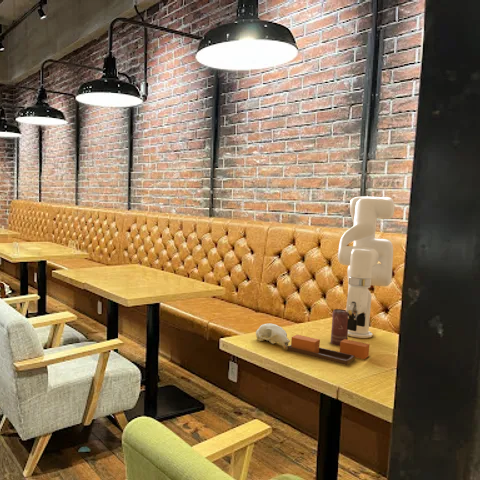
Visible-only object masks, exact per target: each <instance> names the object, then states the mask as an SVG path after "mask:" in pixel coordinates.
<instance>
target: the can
mask: <svg viewBox="0 0 480 480" xmlns="http://www.w3.org/2000/svg"><path fill="white" fill-rule="evenodd" d="M331 317H332V319H331V329H330V330H331V333H330V344H331V345H334V346H337V347H338V346H339V347H340V342H341V341H342V340H344V339H348V337H349V336H348V330H347V323H348V312H346V309H341V308H335V309H333V311H332V316H331Z"/></svg>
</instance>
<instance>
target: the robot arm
mask: <svg viewBox="0 0 480 480" xmlns="http://www.w3.org/2000/svg"><path fill="white" fill-rule="evenodd" d="M349 213H350V218H351V220H352V225H353V226H351V227H349V229H347V230H346V231H344V233H343V234H342V236H341V237H340V240H339V242H338V243H339V244H338V250H337V261H338V263H339V264H341V266H347V269H346V272H347V298H346V306H345V310H346V312H348V323H347V330H348V336H347V337H352V338H358V339H368V338H369V339H370V338H372V337H373V332H372V331H370V320H371V308H372V292H371V291H370V289H371V286H374V287H375V286H376V287H388V286H390V285H391V283H392V278H393V265H394V264H393V263H394V245H393V243H392V241H391V240H390V239H387V238H376V230H377V220H380V219H381V220H390V219H392V218H393V216H394V214H395V202H394V199H393V198H392V197H387V196H386V197H385V196H364V195H363V196H355V197H353V198H351V199H350V201H349ZM350 243H352V245H349V244H350ZM378 262H379V263H378Z"/></svg>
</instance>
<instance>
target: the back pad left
mask: <svg viewBox="0 0 480 480" xmlns="http://www.w3.org/2000/svg"><path fill="white" fill-rule="evenodd" d="M320 343H321V339H319V338H315V337H310V336H307V335H306V336H305V335H301V334H295V335H293V336H291V341H290V345H291V347H293V348H297V349H301V350H306V351H310V352H314V353H319V347H320Z"/></svg>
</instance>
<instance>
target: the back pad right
mask: <svg viewBox="0 0 480 480" xmlns="http://www.w3.org/2000/svg"><path fill="white" fill-rule="evenodd" d="M339 352H341V353H346V354H350V355H354V356H355V358H357V359H362V360H365V359H367V358H368V357H369V356H370V355H369V354H370V343H365V342H361V341H357V340H353V339H352V340H351V339H348V338H347V339H344V340H342V341H341V342H340V346H339Z"/></svg>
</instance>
